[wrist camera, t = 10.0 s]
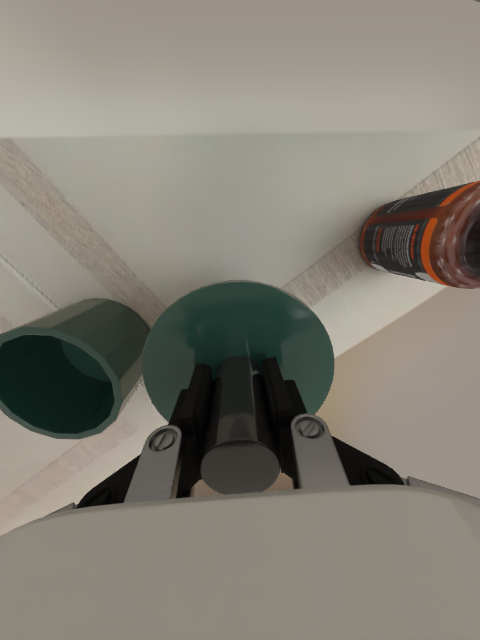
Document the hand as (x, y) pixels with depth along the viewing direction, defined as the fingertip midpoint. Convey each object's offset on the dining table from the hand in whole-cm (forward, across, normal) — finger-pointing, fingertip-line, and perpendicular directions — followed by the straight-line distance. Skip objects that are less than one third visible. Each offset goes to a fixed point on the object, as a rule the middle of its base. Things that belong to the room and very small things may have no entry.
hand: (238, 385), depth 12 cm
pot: (+11, +14, +2) cm, 18 cm away
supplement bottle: (+12, -14, -6) cm, 20 cm away
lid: (+1, 0, 0) cm, 1 cm away
